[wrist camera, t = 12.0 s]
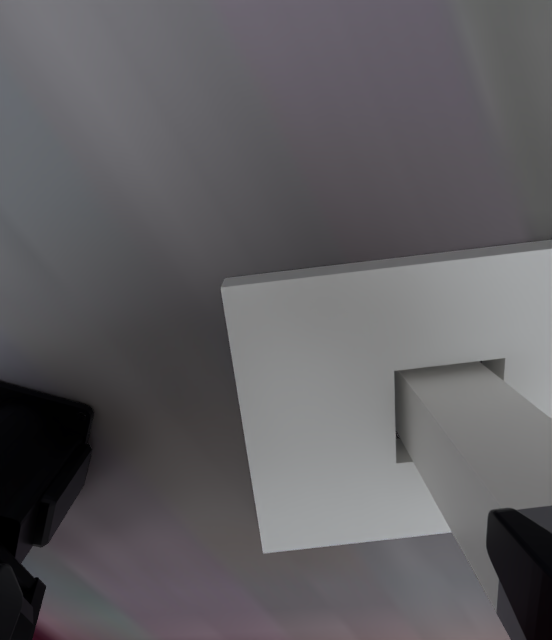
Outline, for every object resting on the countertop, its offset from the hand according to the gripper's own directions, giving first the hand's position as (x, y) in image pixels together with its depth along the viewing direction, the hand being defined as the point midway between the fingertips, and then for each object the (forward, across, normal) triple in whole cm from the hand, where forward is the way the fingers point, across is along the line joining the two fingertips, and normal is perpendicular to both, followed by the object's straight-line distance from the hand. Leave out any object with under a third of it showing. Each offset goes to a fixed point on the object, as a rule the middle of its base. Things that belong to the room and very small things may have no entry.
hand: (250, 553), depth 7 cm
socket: (+13, -7, +5) cm, 16 cm away
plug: (+13, -9, +5) cm, 16 cm away
